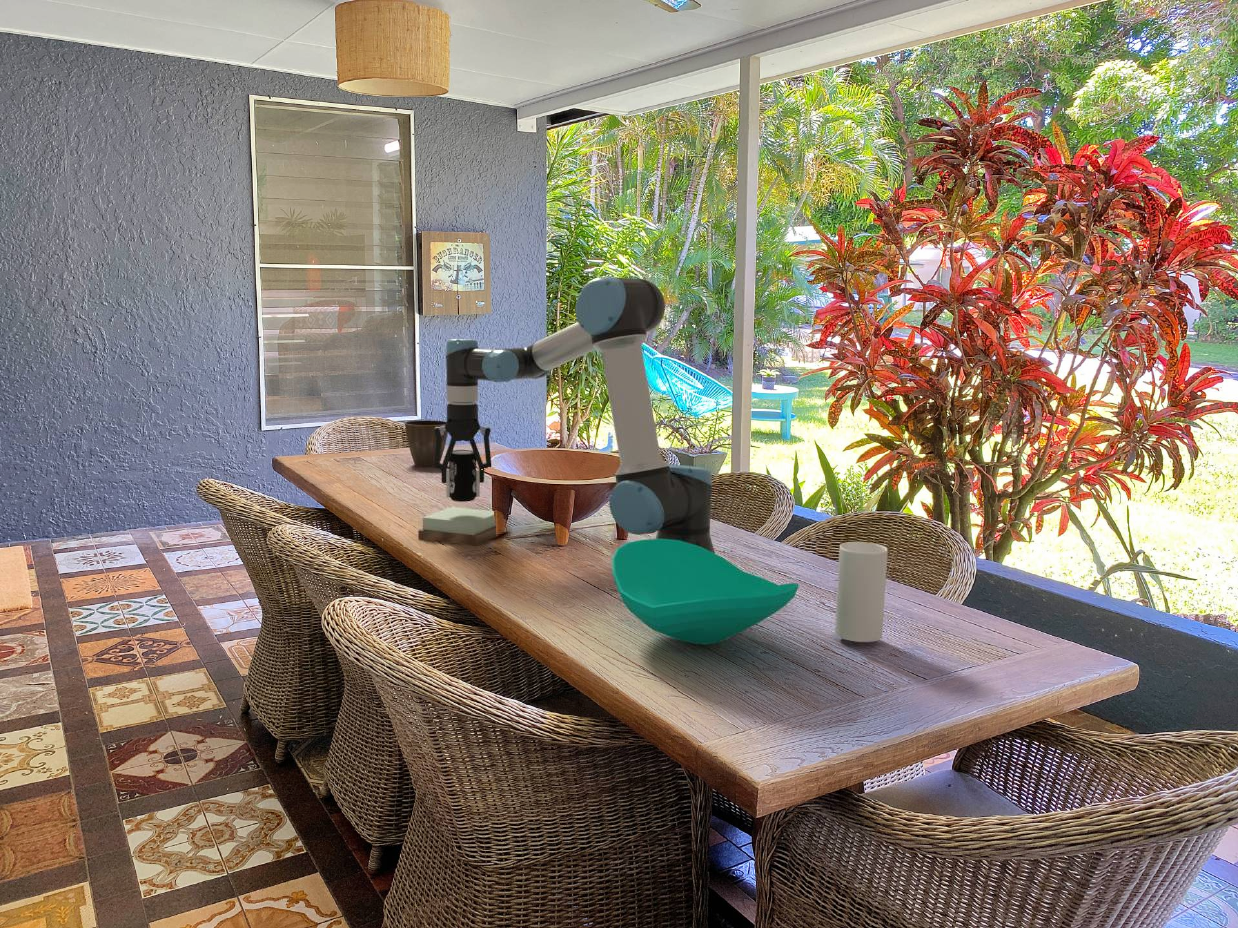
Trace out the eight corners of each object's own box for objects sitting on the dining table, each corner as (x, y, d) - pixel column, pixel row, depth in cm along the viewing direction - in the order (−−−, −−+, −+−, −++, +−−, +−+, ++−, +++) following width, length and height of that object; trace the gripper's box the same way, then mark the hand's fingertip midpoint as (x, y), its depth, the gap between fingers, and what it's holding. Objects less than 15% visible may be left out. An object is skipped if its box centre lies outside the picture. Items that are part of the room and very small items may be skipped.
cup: (847, 623, 181) (852, 539, 178) (889, 633, 175) (895, 547, 173) (826, 634, 174) (831, 547, 172) (869, 645, 169) (875, 555, 167)
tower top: (500, 523, 247) (500, 512, 246) (473, 535, 234) (473, 522, 233) (452, 518, 252) (451, 506, 251) (422, 529, 239) (422, 517, 238)
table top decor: (576, 616, 182) (577, 547, 179) (698, 596, 196) (700, 532, 194) (700, 690, 148) (703, 605, 146) (837, 659, 162) (841, 582, 160)
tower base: (506, 534, 248) (506, 523, 248) (477, 548, 233) (477, 536, 233) (450, 528, 253) (450, 517, 253) (418, 542, 238) (418, 530, 238)
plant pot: (436, 463, 350) (435, 419, 347) (457, 469, 339) (457, 423, 336) (397, 467, 341) (397, 421, 338) (418, 473, 329) (417, 426, 327)
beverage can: (471, 502, 238) (470, 454, 236) (445, 501, 239) (445, 452, 237) (480, 497, 244) (480, 450, 242) (455, 496, 245) (454, 449, 243)
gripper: (501, 401, 243) (501, 492, 247) (421, 401, 240) (422, 493, 243) (503, 404, 236) (503, 498, 240) (421, 404, 232) (422, 499, 236)
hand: (462, 495), depth 241 cm, fingers closed on beverage can, 6 cm apart
